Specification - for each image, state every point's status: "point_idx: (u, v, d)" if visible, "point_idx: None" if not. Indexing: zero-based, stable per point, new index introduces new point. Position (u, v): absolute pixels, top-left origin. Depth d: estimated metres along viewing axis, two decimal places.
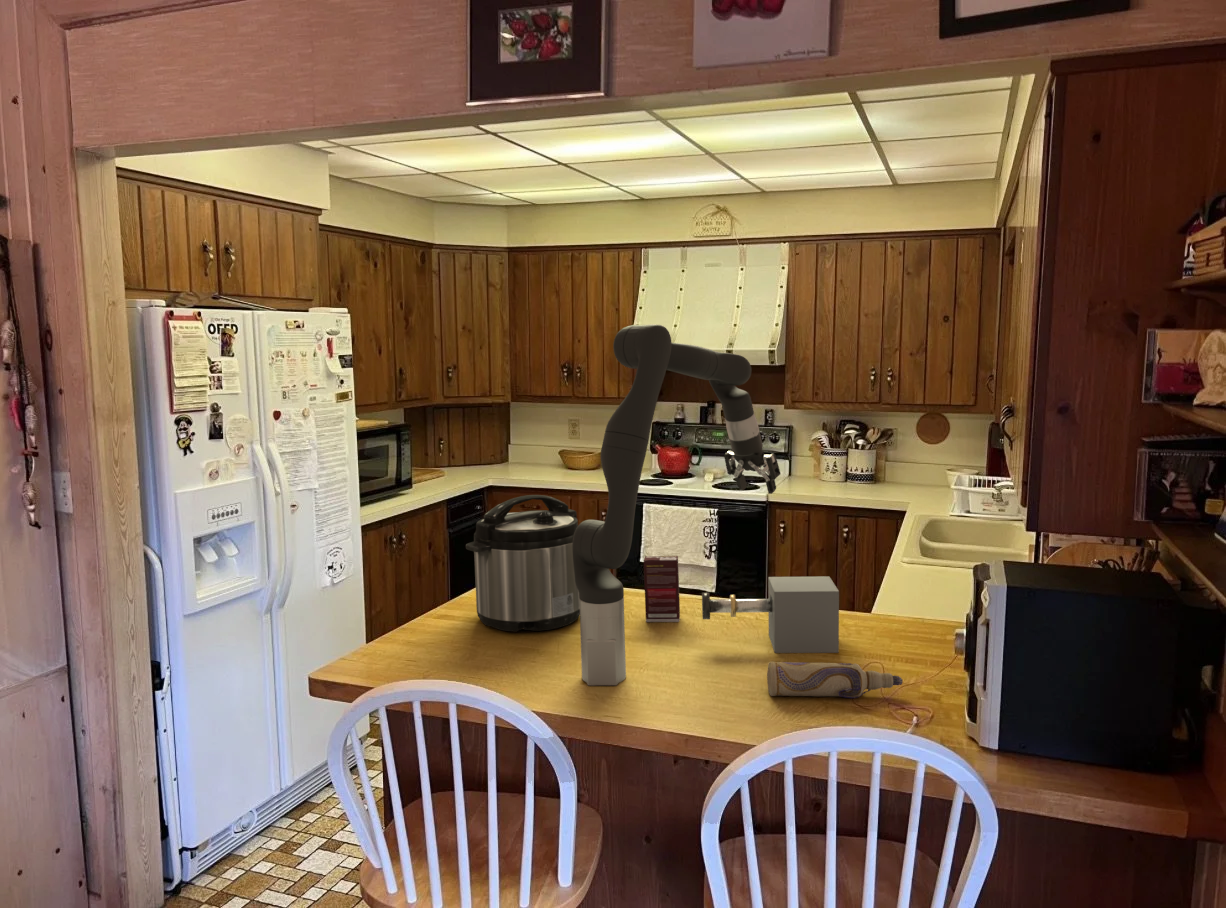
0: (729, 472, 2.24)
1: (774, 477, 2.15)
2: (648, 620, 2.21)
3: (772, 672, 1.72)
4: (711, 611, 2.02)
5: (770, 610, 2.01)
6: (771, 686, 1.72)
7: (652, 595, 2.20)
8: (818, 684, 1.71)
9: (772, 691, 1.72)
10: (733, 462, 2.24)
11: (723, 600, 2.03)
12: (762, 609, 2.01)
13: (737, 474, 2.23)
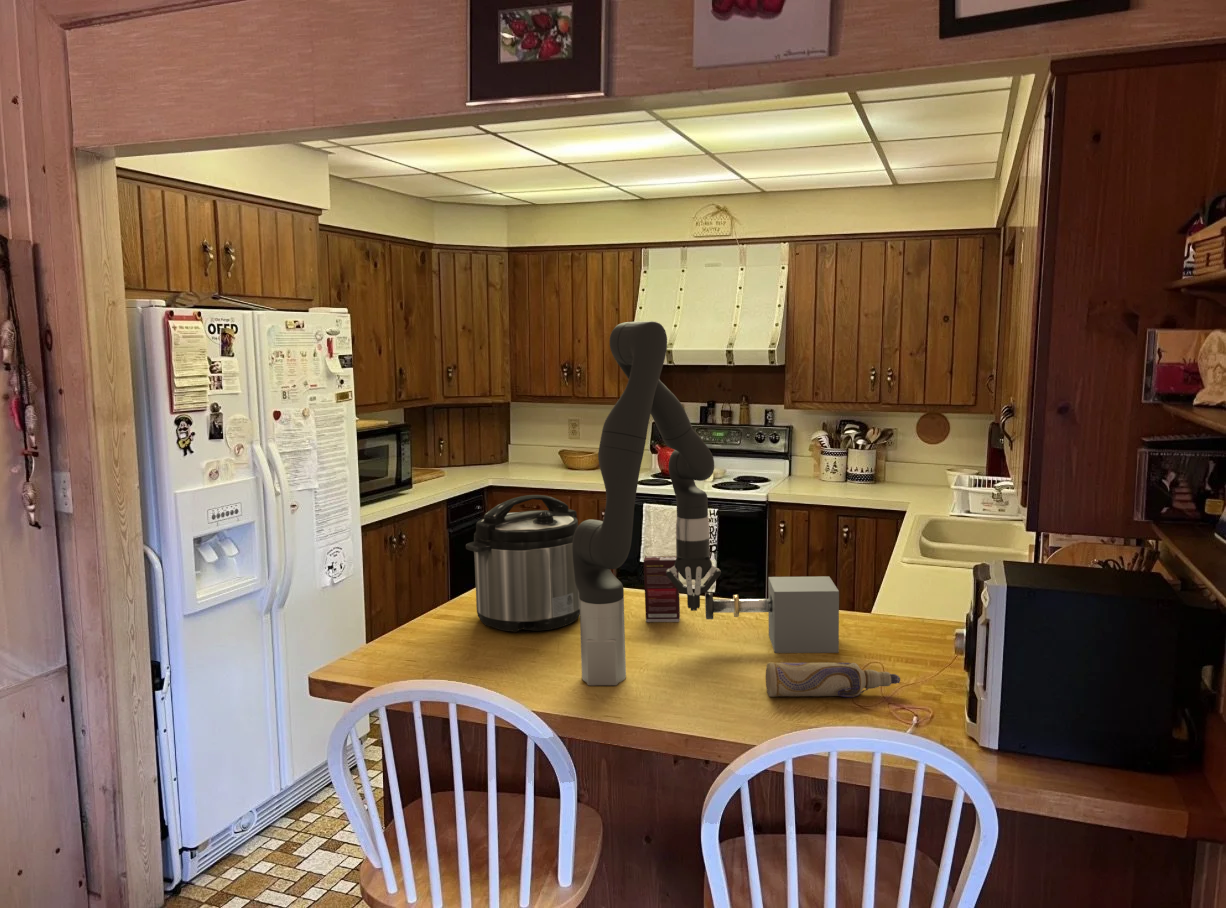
0: (682, 589, 2.02)
1: (706, 589, 2.02)
2: (648, 620, 2.21)
3: (772, 673, 1.72)
4: (714, 611, 2.02)
5: None
6: (771, 687, 1.72)
7: (652, 595, 2.20)
8: (817, 684, 1.71)
9: (772, 692, 1.72)
10: (678, 579, 2.04)
11: (726, 600, 2.03)
12: (765, 609, 2.01)
13: (690, 589, 2.02)
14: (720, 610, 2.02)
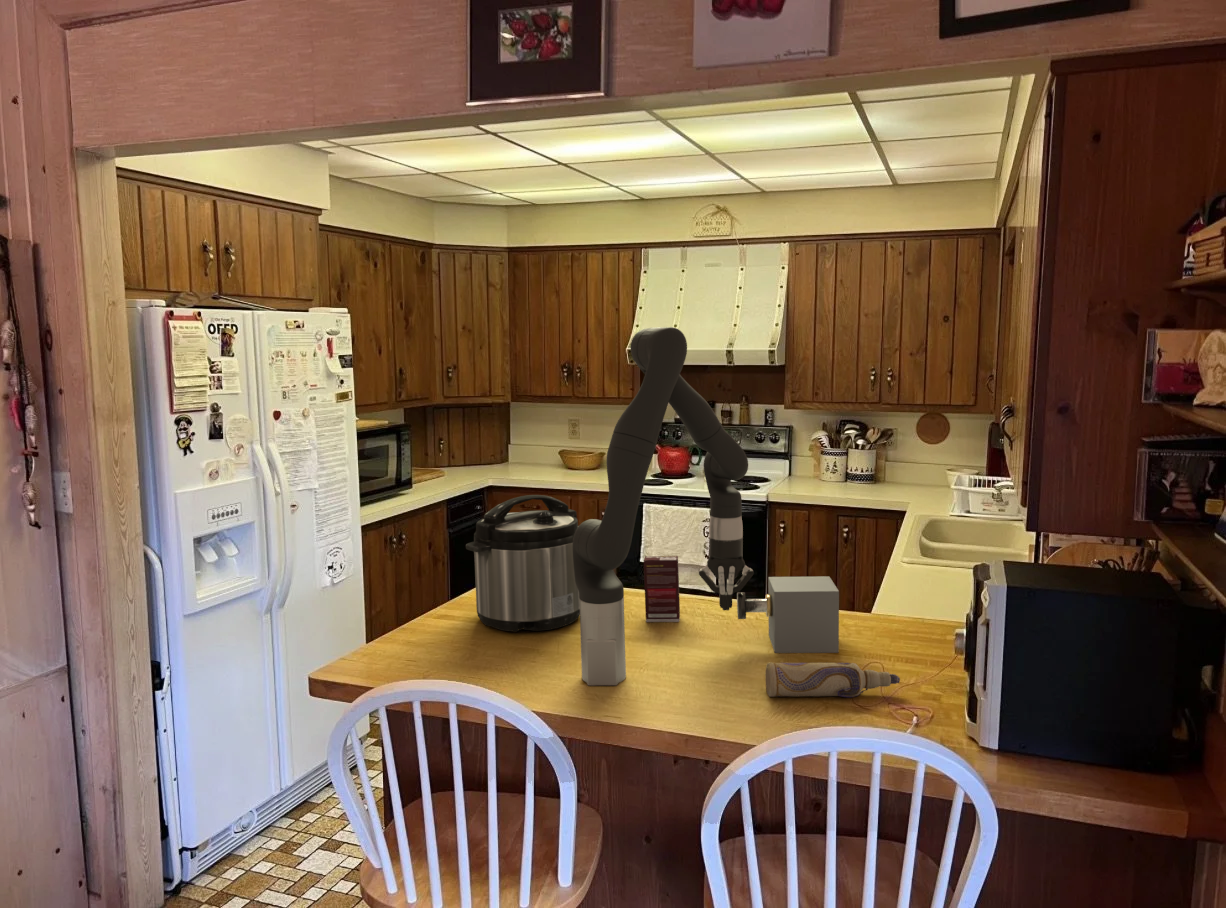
0: (714, 588, 2.02)
1: (739, 589, 2.01)
2: (648, 620, 2.21)
3: (771, 673, 1.72)
4: (747, 611, 2.02)
5: None
6: (771, 687, 1.72)
7: (652, 595, 2.20)
8: (817, 684, 1.71)
9: (772, 692, 1.72)
10: (710, 578, 2.03)
11: (759, 600, 2.02)
12: None
13: (723, 589, 2.02)
14: (753, 610, 2.02)
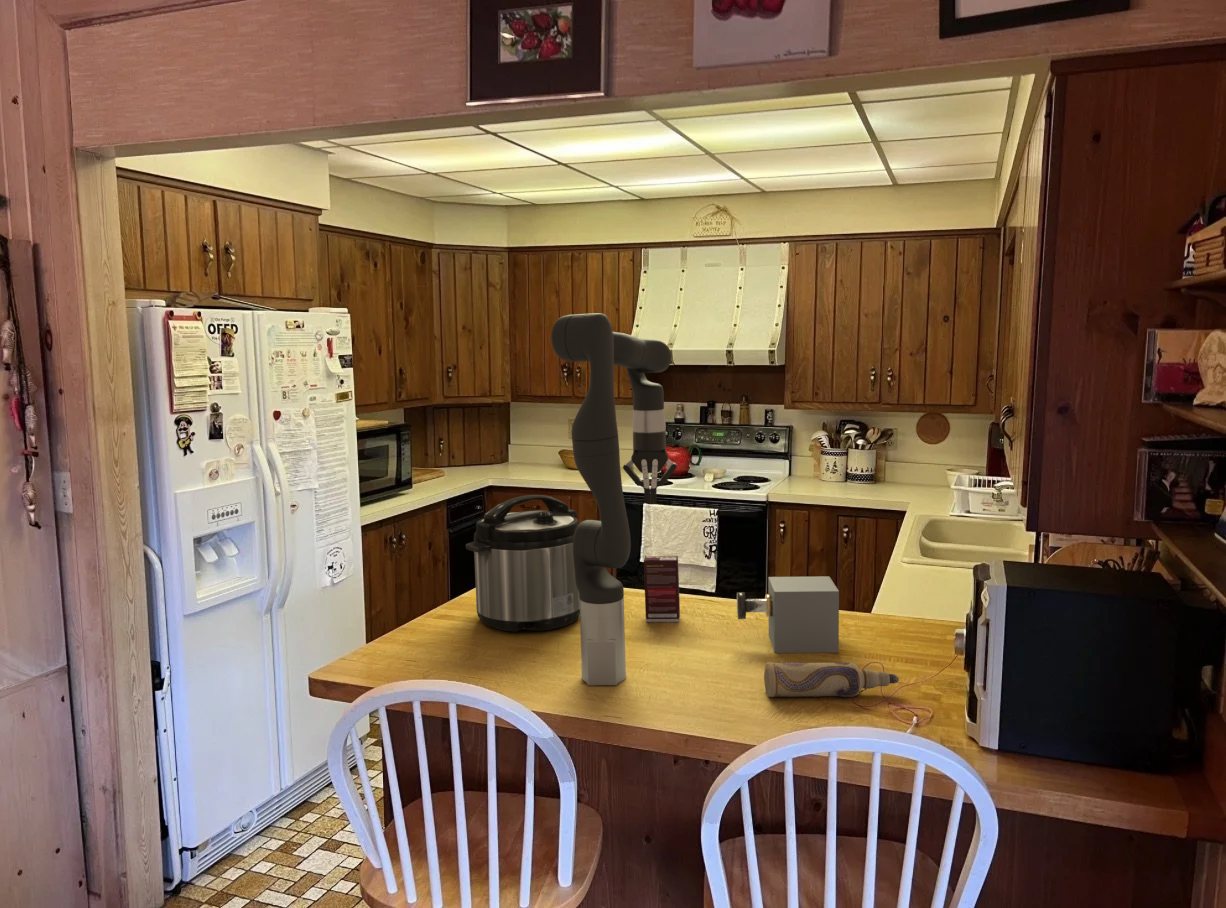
0: (638, 482, 2.04)
1: (663, 482, 2.04)
2: (648, 620, 2.21)
3: (771, 673, 1.72)
4: (747, 611, 2.02)
5: None
6: (770, 687, 1.72)
7: (652, 595, 2.20)
8: (816, 684, 1.71)
9: (771, 692, 1.72)
10: (634, 473, 2.06)
11: (759, 600, 2.02)
12: None
13: (647, 482, 2.04)
14: (752, 610, 2.02)
